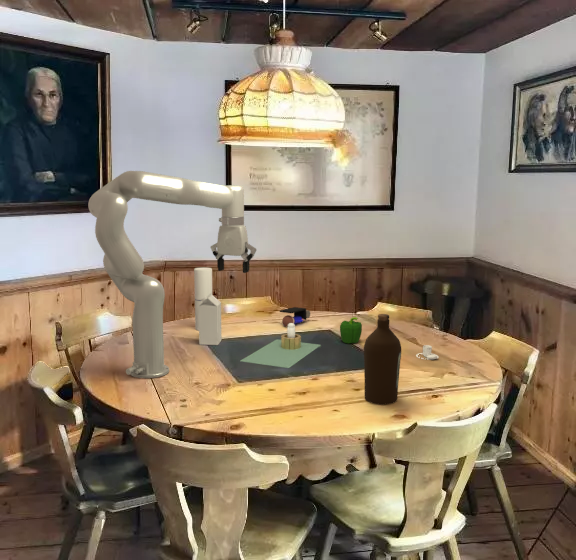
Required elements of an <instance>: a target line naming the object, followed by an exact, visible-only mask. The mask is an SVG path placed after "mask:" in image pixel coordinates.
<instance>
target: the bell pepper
mask: <svg viewBox="0 0 576 560" xmlns="http://www.w3.org/2000/svg"><path fill="white" fill-rule="evenodd" d="M354 320H355V321H354ZM357 320H358V317H354V316H352V317H350V320H349V321H348V320H342V322H341V323H340V325H339V332H340V338H341V341H342V343H345V344H357V343H359V341H360V340H361V339H360V338H361V336H362V331H363V324H362V322H360V321H357Z"/></svg>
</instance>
